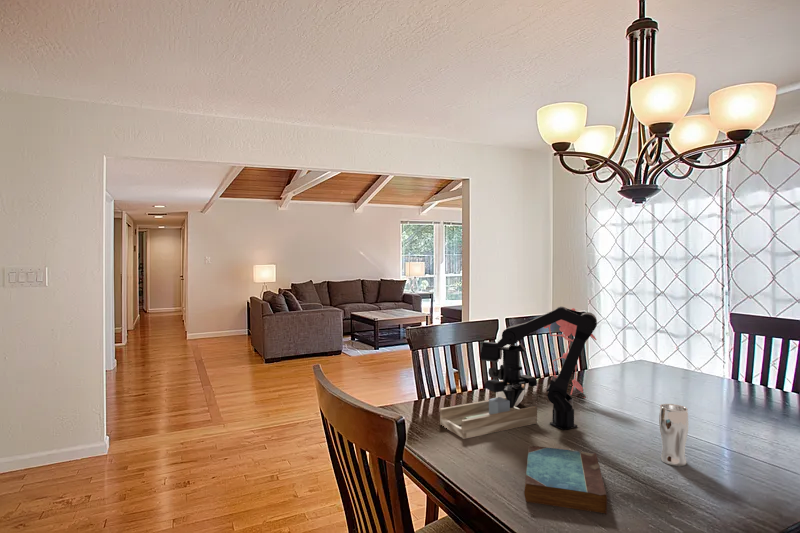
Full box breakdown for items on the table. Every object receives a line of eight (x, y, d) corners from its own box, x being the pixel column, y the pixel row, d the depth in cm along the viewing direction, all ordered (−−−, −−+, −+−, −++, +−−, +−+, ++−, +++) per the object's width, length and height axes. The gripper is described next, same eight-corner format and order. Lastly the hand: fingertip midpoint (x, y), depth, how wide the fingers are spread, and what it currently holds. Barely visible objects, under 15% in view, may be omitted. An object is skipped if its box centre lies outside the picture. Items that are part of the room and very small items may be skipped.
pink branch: (588, 400, 184) (589, 311, 184) (534, 386, 205) (535, 306, 205) (609, 394, 194) (610, 309, 194) (554, 381, 214) (555, 304, 214)
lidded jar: (522, 399, 186) (522, 376, 186) (526, 408, 175) (526, 383, 175) (494, 399, 187) (494, 375, 187) (497, 407, 176) (497, 382, 176)
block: (509, 415, 160) (509, 401, 160) (498, 417, 158) (498, 403, 158) (500, 411, 164) (500, 397, 164) (488, 413, 162) (488, 399, 162)
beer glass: (661, 454, 134) (661, 401, 134) (690, 460, 130) (690, 406, 129) (656, 462, 129) (656, 407, 128) (686, 469, 124) (686, 413, 124)
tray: (537, 423, 159) (537, 407, 159) (463, 438, 146) (463, 421, 146) (509, 411, 172) (509, 396, 172) (440, 424, 159) (439, 408, 158)
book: (607, 517, 103) (607, 494, 102) (524, 504, 108) (524, 483, 108) (596, 471, 124) (596, 452, 124) (528, 463, 130) (528, 445, 130)
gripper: (516, 356, 174) (516, 397, 175) (475, 361, 166) (475, 405, 166) (538, 362, 164) (538, 406, 165) (495, 367, 156) (495, 414, 156)
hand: (511, 407), depth 163 cm, fingers closed
